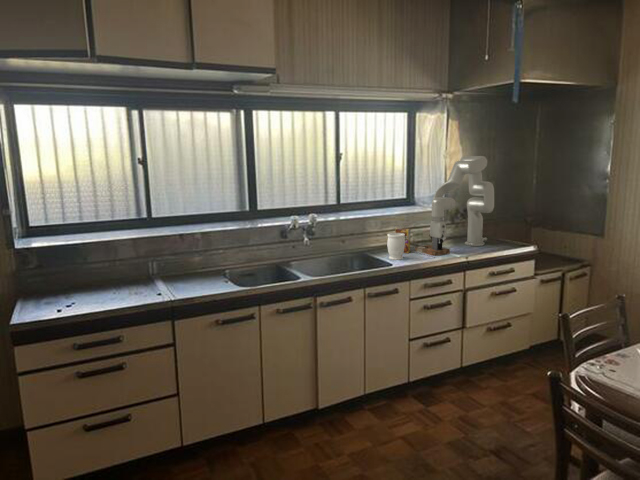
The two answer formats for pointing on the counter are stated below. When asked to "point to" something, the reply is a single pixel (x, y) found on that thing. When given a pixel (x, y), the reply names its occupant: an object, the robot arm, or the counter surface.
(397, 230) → the candy box
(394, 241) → the jar
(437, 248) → the grey rectangular block
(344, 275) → the counter surface
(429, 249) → the socket block
